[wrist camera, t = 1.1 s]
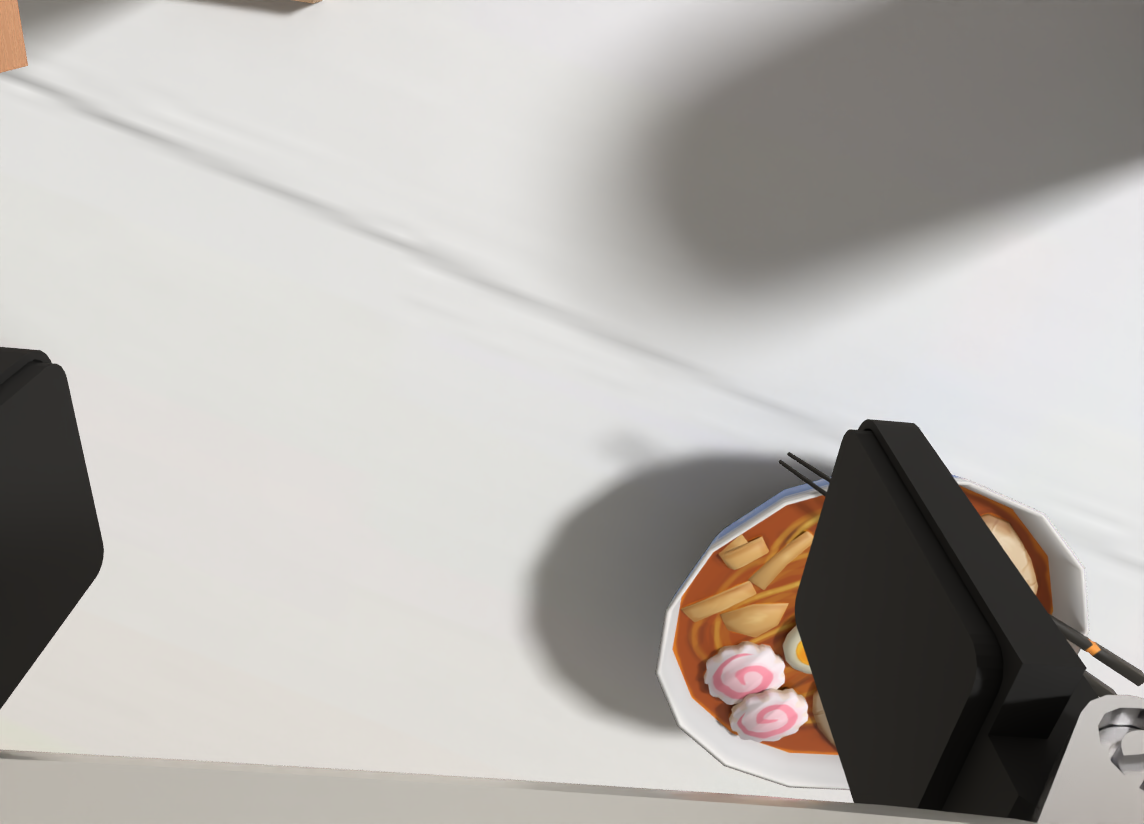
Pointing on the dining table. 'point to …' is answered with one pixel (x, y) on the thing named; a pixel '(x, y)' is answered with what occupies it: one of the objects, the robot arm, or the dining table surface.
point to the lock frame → (308, 1)
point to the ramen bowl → (773, 645)
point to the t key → (11, 37)
